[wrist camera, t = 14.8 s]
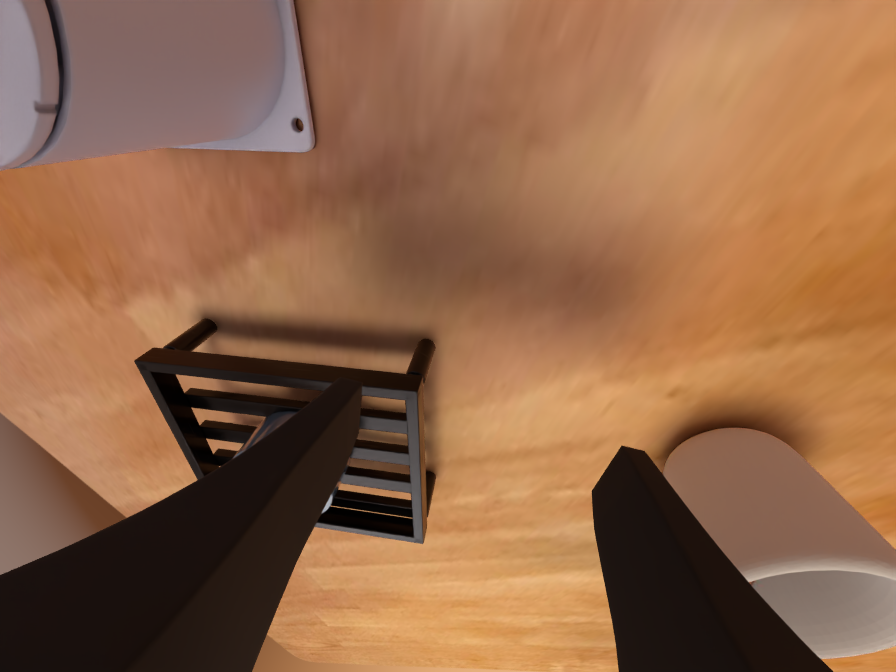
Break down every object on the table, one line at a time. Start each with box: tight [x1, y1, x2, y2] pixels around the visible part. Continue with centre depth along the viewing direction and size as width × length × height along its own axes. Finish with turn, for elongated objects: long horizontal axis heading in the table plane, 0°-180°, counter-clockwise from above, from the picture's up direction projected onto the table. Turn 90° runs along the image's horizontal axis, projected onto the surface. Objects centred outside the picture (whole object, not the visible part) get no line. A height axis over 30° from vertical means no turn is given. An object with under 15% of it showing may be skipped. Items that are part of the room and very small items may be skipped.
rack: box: [134, 319, 436, 544], centre depth 22 cm, size 12×14×4 cm
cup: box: [663, 428, 896, 659], centre depth 19 cm, size 11×8×8 cm
